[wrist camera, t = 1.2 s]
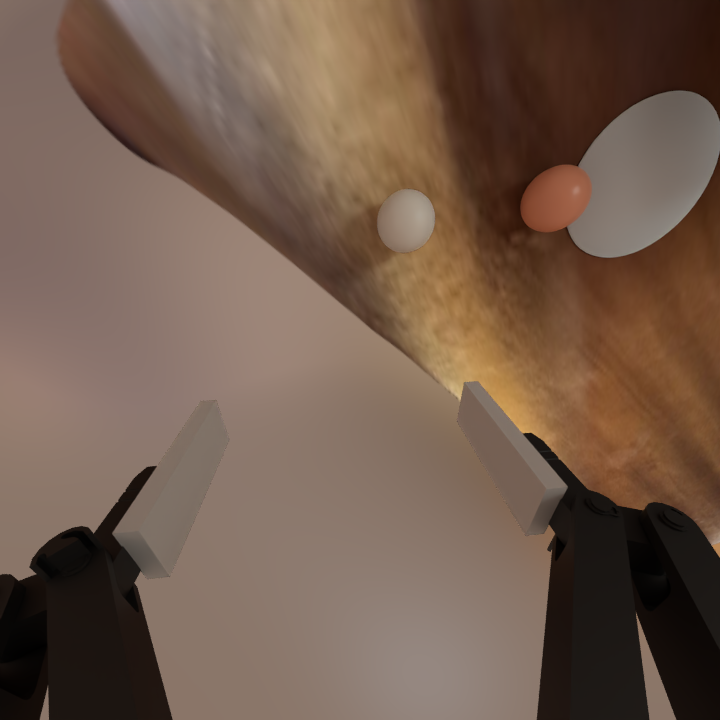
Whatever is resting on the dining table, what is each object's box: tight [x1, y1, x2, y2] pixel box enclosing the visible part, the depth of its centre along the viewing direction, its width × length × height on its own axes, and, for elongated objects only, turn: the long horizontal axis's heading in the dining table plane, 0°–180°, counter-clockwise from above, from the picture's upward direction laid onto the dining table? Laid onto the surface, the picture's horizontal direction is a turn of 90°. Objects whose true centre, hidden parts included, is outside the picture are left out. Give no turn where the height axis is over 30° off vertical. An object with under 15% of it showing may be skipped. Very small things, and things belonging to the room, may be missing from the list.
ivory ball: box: [377, 189, 435, 253], centre depth 27 cm, size 6×6×6 cm
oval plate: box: [567, 91, 720, 258], centre depth 28 cm, size 14×14×1 cm
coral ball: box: [520, 165, 592, 232], centre depth 26 cm, size 6×6×6 cm
